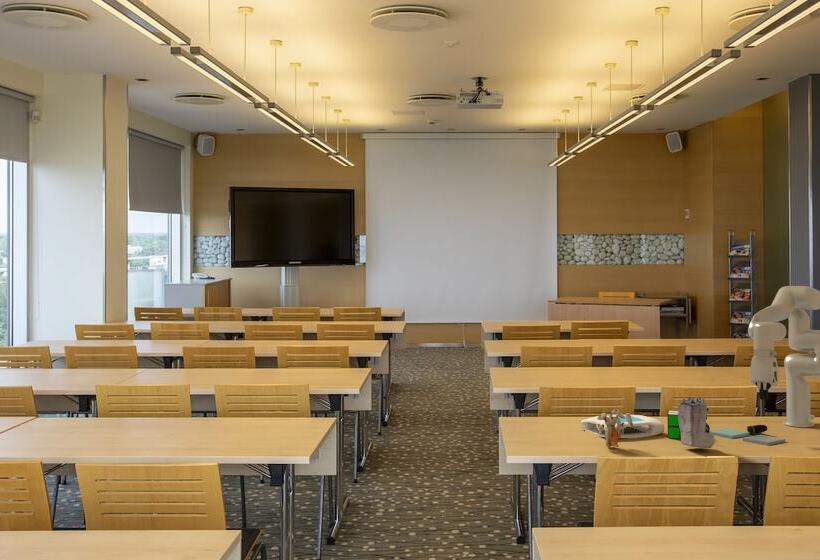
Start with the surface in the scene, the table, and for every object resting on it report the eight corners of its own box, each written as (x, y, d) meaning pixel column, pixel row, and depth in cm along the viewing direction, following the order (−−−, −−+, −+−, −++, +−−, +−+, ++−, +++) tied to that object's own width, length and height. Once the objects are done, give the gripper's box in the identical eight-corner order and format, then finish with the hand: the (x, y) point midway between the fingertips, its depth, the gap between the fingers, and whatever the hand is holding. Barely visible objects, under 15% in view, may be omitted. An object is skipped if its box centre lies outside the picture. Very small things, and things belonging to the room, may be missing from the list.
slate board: (760, 437, 333) (760, 434, 333) (785, 442, 324) (785, 439, 324) (742, 440, 326) (742, 437, 326) (767, 445, 317) (767, 442, 317)
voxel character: (621, 444, 320) (621, 406, 320) (634, 449, 311) (634, 410, 311) (595, 446, 317) (595, 407, 317) (608, 451, 308) (608, 411, 308)
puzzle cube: (693, 435, 338) (693, 411, 338) (693, 439, 329) (693, 415, 329) (668, 433, 342) (668, 410, 342) (667, 438, 332) (667, 414, 332)
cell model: (718, 450, 308) (718, 398, 308) (692, 452, 306) (692, 399, 306) (700, 444, 320) (700, 393, 320) (675, 445, 319) (675, 394, 318)
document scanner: (580, 431, 349) (580, 417, 349) (635, 427, 358) (635, 413, 358) (607, 440, 329) (607, 425, 329) (665, 435, 338) (665, 420, 338)
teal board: (726, 431, 346) (726, 428, 346) (749, 435, 337) (749, 432, 337) (709, 434, 340) (709, 431, 340) (731, 438, 331) (731, 435, 331)
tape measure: (769, 432, 336) (767, 423, 337) (756, 434, 334) (754, 425, 334) (757, 433, 343) (755, 424, 343) (744, 435, 340) (742, 426, 341)
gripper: (786, 354, 321) (786, 400, 321) (752, 352, 333) (752, 396, 333) (775, 355, 317) (775, 402, 317) (741, 352, 329) (741, 397, 329)
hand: (763, 399), depth 325 cm, fingers closed
